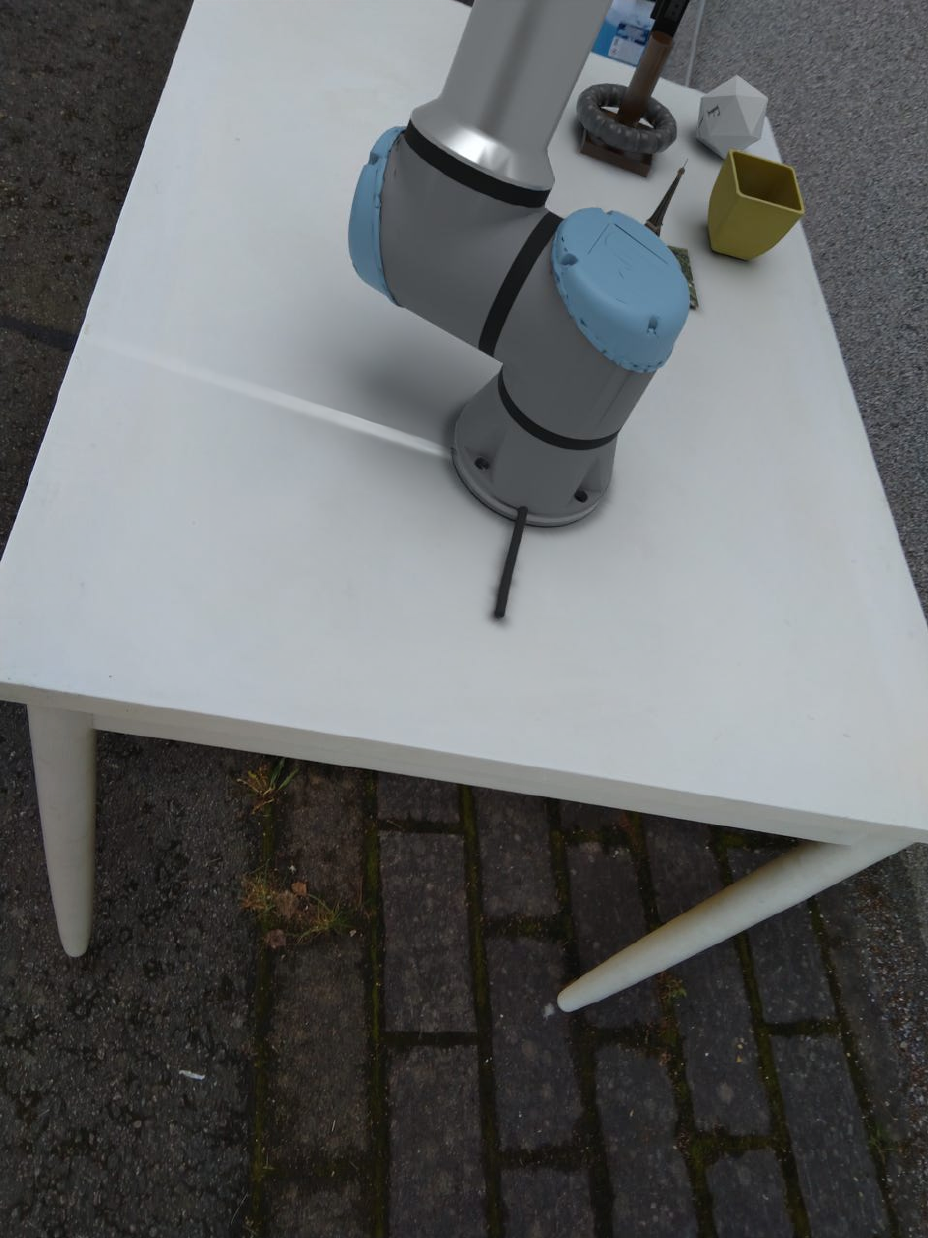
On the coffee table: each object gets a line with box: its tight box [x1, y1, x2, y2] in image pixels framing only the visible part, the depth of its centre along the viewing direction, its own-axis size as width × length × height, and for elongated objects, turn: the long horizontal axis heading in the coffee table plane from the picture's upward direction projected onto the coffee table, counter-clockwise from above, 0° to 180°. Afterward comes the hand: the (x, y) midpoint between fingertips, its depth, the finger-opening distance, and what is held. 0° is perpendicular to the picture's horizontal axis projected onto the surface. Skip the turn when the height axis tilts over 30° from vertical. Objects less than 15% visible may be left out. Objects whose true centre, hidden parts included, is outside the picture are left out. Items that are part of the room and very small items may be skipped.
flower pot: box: [707, 149, 805, 261], centre depth 108 cm, size 9×9×9 cm
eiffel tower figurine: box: [643, 158, 699, 308], centre depth 98 cm, size 15×10×13 cm
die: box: [695, 74, 769, 161], centre depth 119 cm, size 8×9×10 cm
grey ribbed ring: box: [575, 82, 678, 155], centre depth 113 cm, size 13×13×3 cm
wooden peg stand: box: [579, 31, 676, 178], centre depth 110 cm, size 9×9×14 cm
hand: (659, 31), depth 109 cm, fingers open, 5 cm apart
